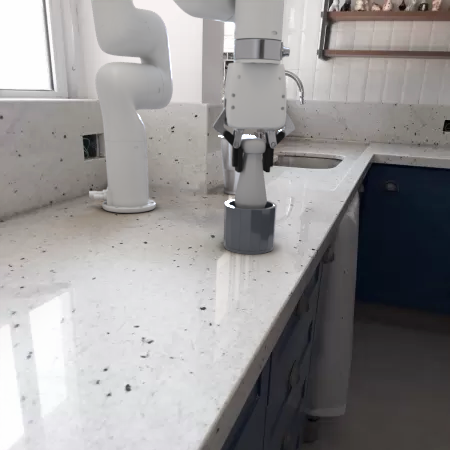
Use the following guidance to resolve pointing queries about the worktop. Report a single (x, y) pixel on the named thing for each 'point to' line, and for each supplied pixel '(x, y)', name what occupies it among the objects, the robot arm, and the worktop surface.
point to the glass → (229, 166)
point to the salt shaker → (251, 176)
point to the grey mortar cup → (249, 228)
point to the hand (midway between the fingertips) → (252, 170)
